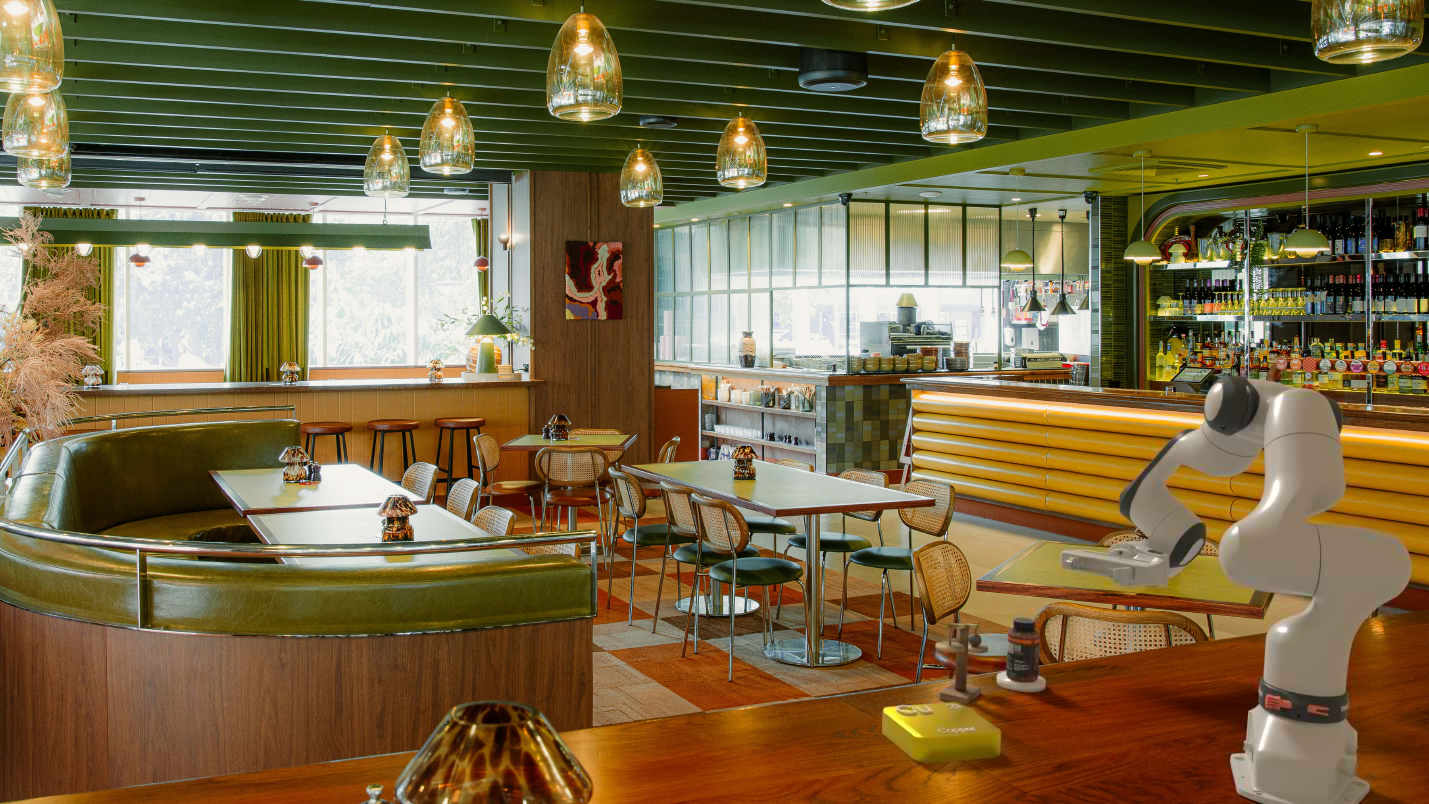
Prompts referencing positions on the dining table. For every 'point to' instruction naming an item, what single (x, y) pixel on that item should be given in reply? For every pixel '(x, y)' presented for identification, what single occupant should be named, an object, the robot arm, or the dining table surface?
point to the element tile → (941, 732)
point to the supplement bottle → (1023, 651)
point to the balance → (962, 662)
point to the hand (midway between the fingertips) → (1089, 569)
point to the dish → (1021, 684)
